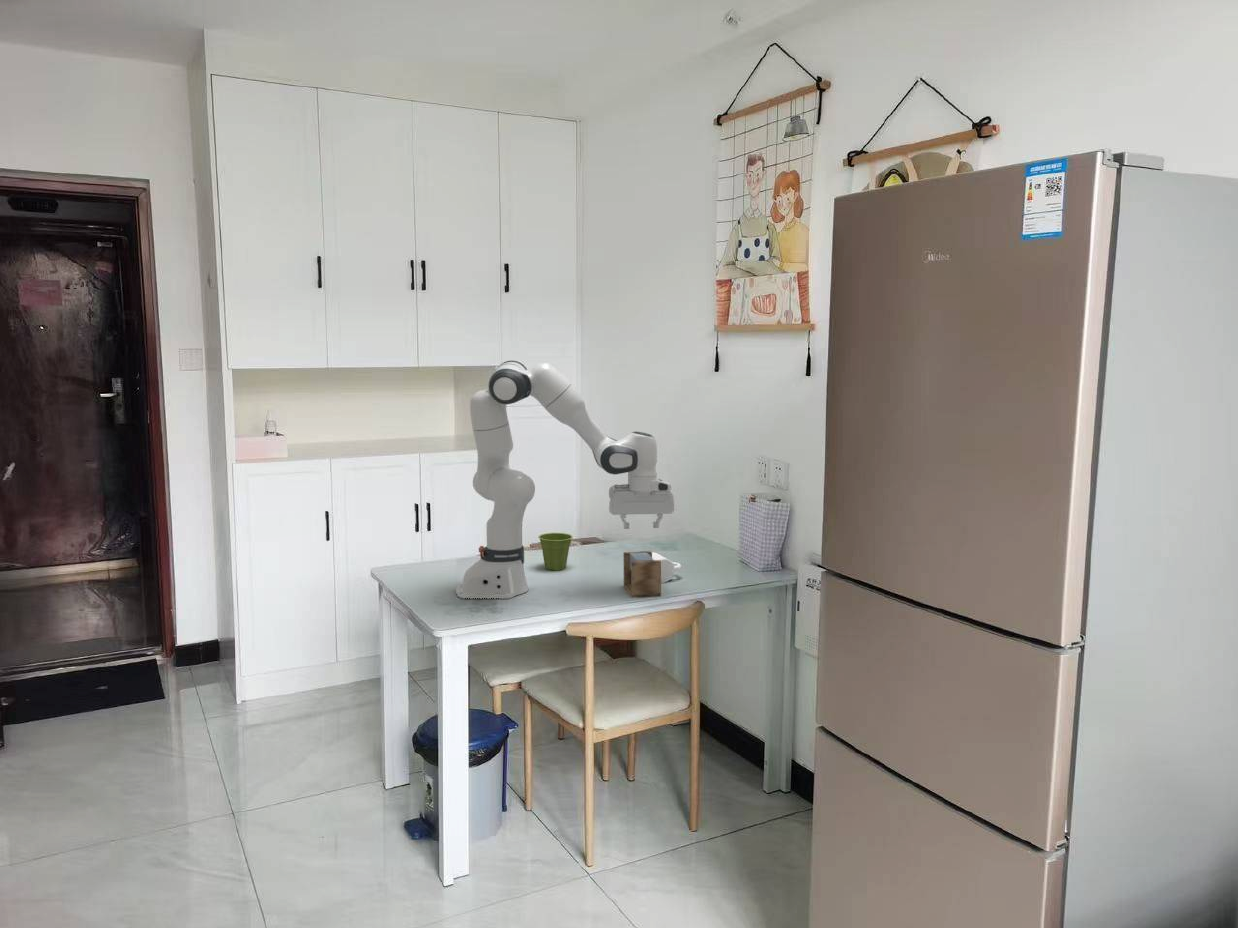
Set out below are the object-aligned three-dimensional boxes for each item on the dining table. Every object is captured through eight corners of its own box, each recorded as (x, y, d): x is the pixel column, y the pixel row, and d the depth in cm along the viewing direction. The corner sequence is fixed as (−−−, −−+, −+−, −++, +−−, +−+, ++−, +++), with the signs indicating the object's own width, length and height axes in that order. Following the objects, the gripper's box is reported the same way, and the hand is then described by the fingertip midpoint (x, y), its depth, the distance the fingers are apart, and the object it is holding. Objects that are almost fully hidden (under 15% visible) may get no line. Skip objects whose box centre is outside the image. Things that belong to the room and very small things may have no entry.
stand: (632, 597, 277) (632, 562, 275) (623, 585, 290) (623, 552, 288) (660, 595, 279) (661, 561, 277) (650, 584, 292) (651, 550, 290)
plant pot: (557, 574, 304) (557, 541, 302) (531, 569, 311) (531, 537, 309) (580, 567, 313) (579, 535, 311) (554, 562, 320) (553, 531, 318)
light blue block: (636, 576, 278) (636, 560, 278) (629, 568, 288) (629, 553, 287) (653, 575, 279) (653, 559, 279) (646, 567, 289) (646, 552, 288)
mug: (652, 584, 292) (652, 560, 291) (640, 576, 301) (640, 553, 300) (685, 580, 296) (686, 556, 295) (672, 572, 306) (673, 549, 304)
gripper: (611, 486, 274) (610, 530, 276) (676, 485, 278) (675, 529, 280) (607, 483, 281) (606, 526, 282) (671, 482, 285) (670, 525, 286)
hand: (641, 528), depth 281 cm, fingers open, 8 cm apart
